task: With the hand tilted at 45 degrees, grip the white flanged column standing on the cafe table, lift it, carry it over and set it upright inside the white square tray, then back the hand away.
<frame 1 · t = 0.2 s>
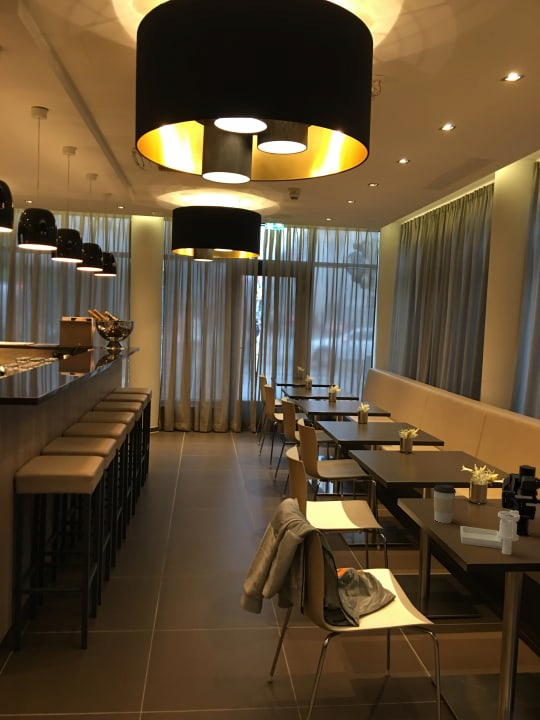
hand: (532, 508, 203), 16 cm above the table, tool horizontal, fingers open, 9 cm apart
white flanged column: (506, 553, 204), on the table
coffee cup: (442, 521, 240), on the table
white square tray: (480, 540, 217), on the table
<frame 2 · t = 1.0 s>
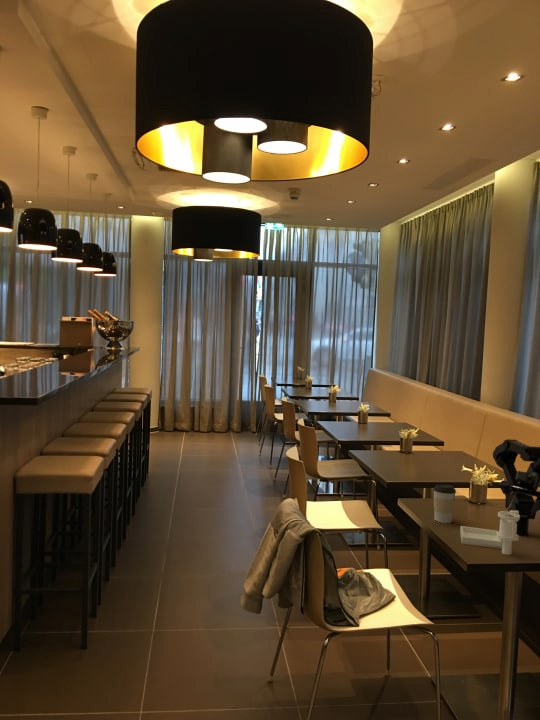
hand: (518, 510, 209), 14 cm above the table, tool tilted 45°, fingers open, 9 cm apart
nothing on the table moved.
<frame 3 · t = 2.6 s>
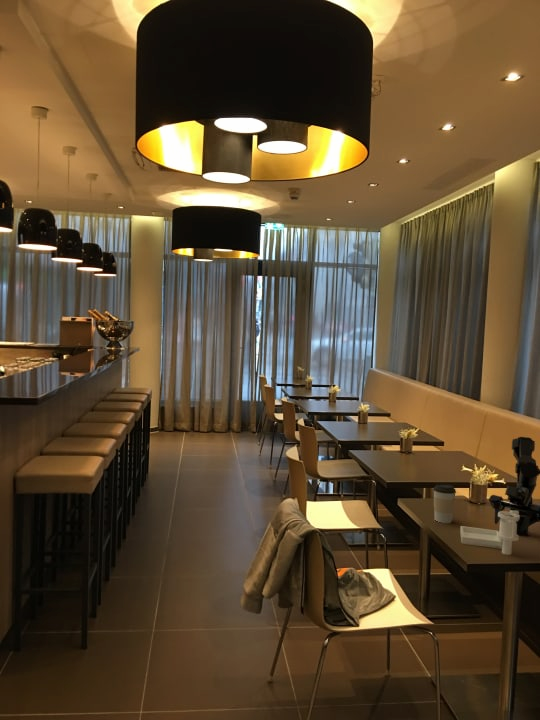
hand: (508, 527, 204), 9 cm above the table, tool tilted 45°, fingers open, 9 cm apart
nothing on the table moved.
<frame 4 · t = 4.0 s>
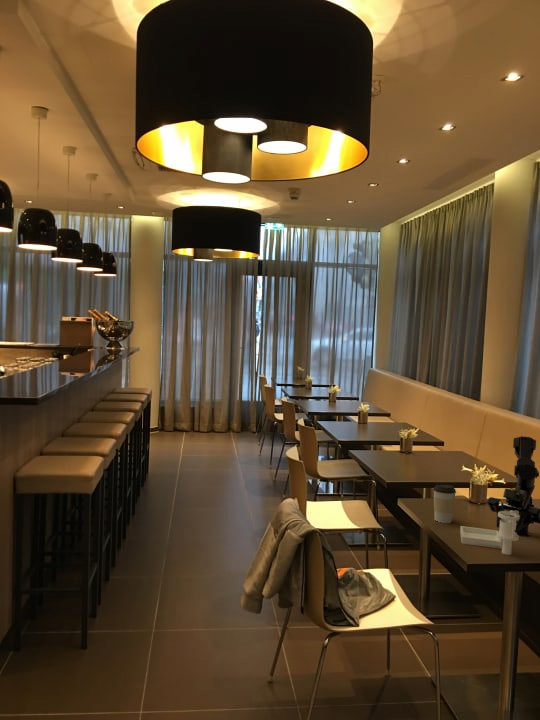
hand: (506, 529, 203), 9 cm above the table, tool tilted 45°, fingers closed on white flanged column, 6 cm apart
white flanged column: (506, 553, 204), on the table, touching gripper
everything else where it was.
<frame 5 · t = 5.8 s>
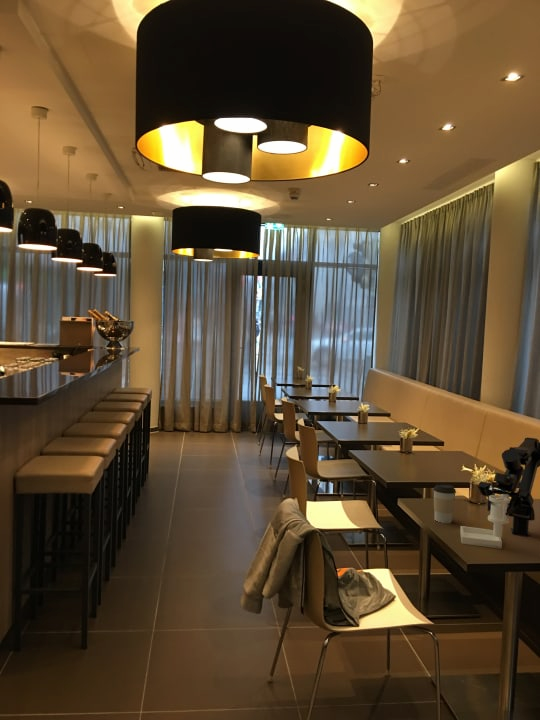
hand: (496, 512, 208), 13 cm above the table, tool tilted 45°, fingers closed on white flanged column, 6 cm apart
white flanged column: (497, 536, 209), point 4 cm above the table, touching gripper
everything else where it was.
when the fingers open (11 cm above the table, at t = 7.8 s): white flanged column drops 1 cm, resting on white square tray.
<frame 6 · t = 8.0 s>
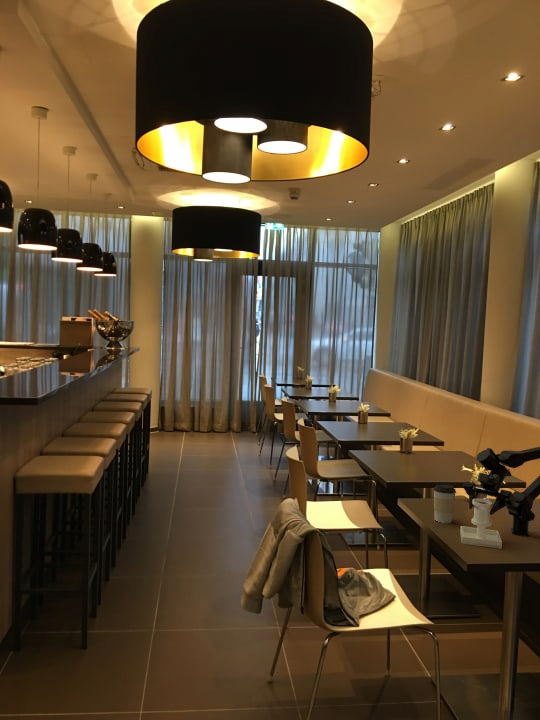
hand: (479, 511, 216), 11 cm above the table, tool tilted 45°, fingers open, 8 cm apart
white flanged column: (480, 538, 217), point 1 cm above the table, touching white square tray
everything else where it was.
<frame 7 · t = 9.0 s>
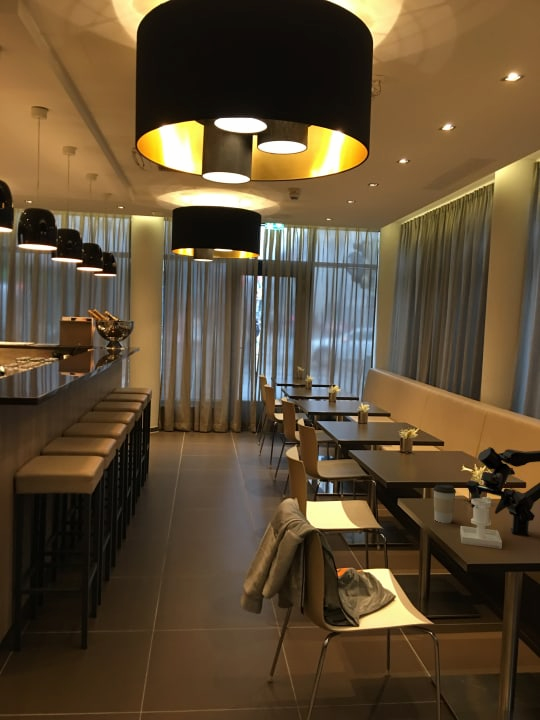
hand: (483, 510, 217), 11 cm above the table, tool tilted 45°, fingers open, 9 cm apart
nothing on the table moved.
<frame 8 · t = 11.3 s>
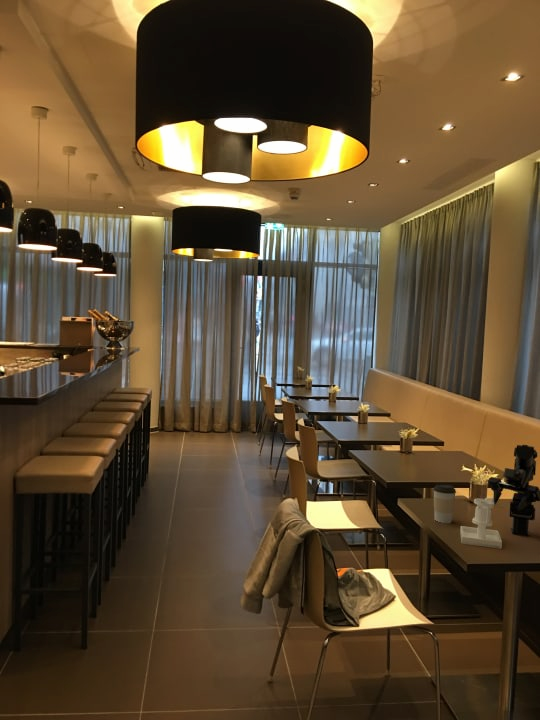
hand: (505, 506, 214), 14 cm above the table, tool tilted 45°, fingers open, 9 cm apart
at the end: white flanged column inside the target area on the white square tray (0.4 cm from its centre), point 0.6 cm above the white square tray's base; white flanged column tilted 2°; the gripper is holding nothing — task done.
